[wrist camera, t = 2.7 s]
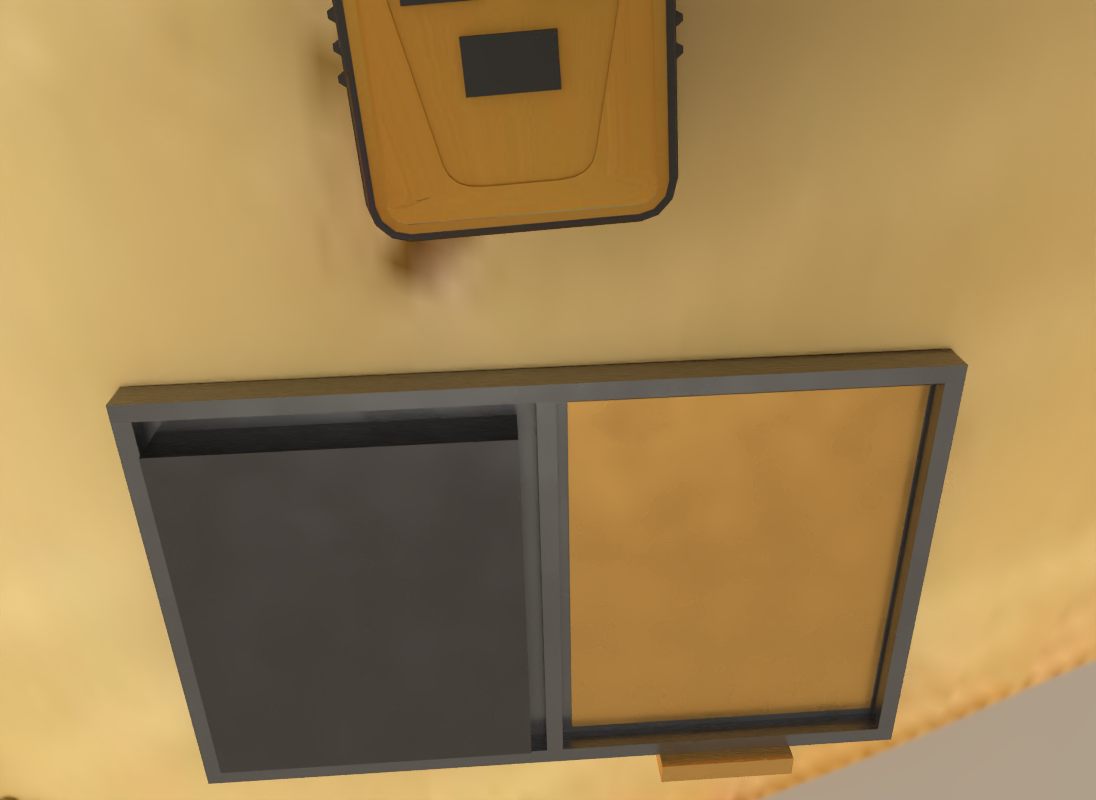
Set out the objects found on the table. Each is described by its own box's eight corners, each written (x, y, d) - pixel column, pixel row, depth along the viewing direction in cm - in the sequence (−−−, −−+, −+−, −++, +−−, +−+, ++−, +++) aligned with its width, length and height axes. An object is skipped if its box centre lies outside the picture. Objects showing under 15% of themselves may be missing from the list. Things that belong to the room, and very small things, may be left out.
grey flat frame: (119, 387, 29) (95, 418, 27) (950, 349, 30) (980, 376, 28) (220, 772, 36) (206, 816, 35) (876, 730, 37) (895, 770, 36)
